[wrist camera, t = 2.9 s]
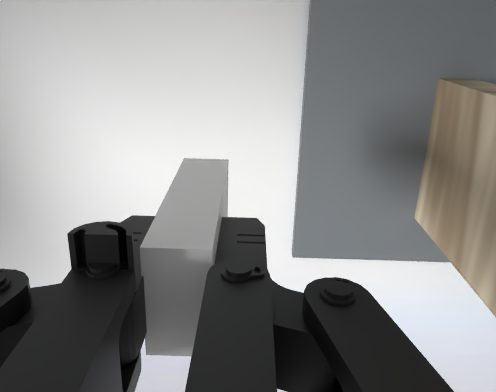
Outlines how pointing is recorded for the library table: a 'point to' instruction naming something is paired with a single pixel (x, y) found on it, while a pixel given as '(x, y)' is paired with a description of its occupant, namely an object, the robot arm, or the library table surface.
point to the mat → (378, 119)
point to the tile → (463, 182)
